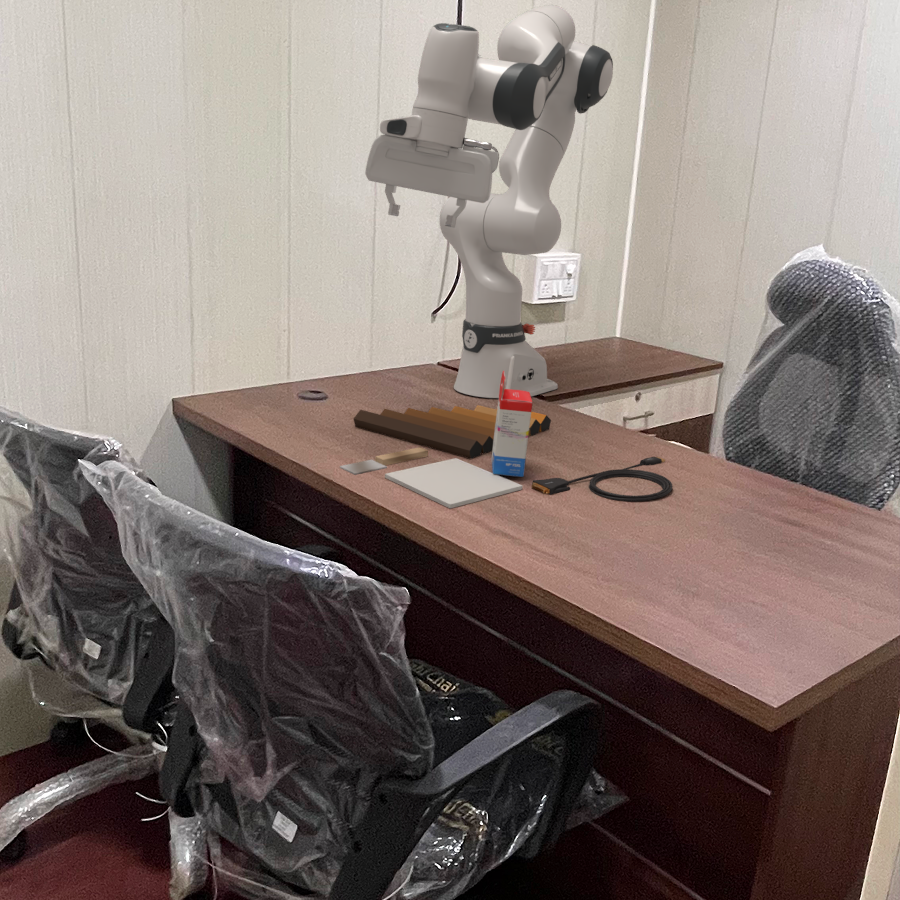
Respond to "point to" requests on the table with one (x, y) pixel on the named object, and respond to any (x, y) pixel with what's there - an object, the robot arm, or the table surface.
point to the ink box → (511, 431)
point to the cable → (561, 484)
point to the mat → (453, 482)
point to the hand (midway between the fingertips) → (421, 221)
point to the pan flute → (444, 428)
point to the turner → (385, 460)
